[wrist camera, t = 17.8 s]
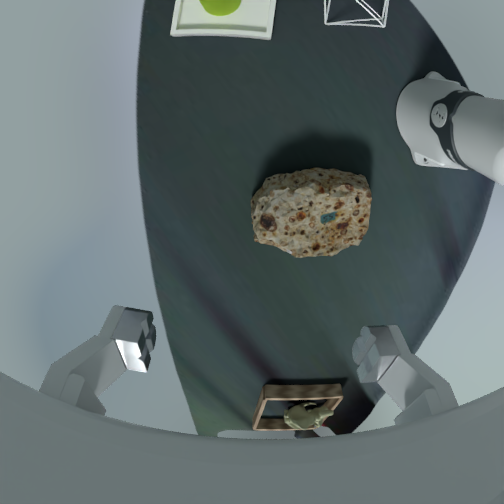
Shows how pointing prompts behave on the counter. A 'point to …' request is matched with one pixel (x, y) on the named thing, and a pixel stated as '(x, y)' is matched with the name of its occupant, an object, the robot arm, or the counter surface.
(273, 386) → the specimen frame
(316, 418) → the pelvis bone
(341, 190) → the rock
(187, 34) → the tray
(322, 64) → the counter surface
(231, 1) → the soap dispenser
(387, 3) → the geometric polyhedron
